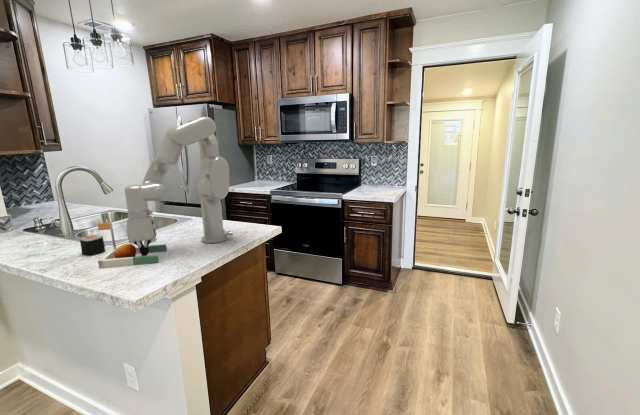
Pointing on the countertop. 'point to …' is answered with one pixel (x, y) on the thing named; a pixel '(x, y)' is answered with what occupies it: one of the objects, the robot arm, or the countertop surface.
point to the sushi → (92, 245)
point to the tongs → (111, 262)
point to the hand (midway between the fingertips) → (145, 255)
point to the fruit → (125, 251)
